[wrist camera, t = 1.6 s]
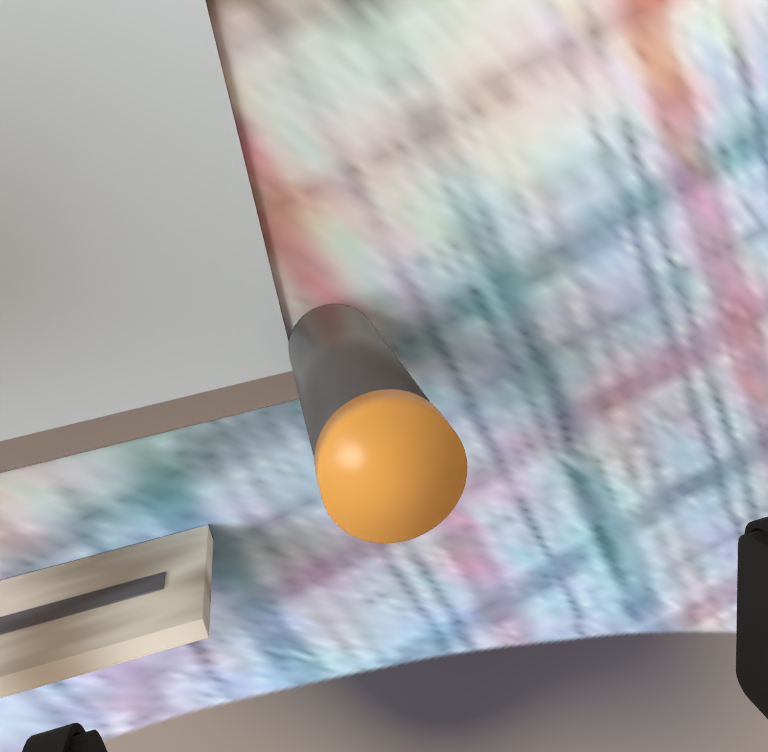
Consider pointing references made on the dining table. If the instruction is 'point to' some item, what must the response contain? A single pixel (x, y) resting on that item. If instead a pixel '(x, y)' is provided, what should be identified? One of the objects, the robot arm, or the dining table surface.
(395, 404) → the marker
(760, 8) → the dining table surface
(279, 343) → the notepad
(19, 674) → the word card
